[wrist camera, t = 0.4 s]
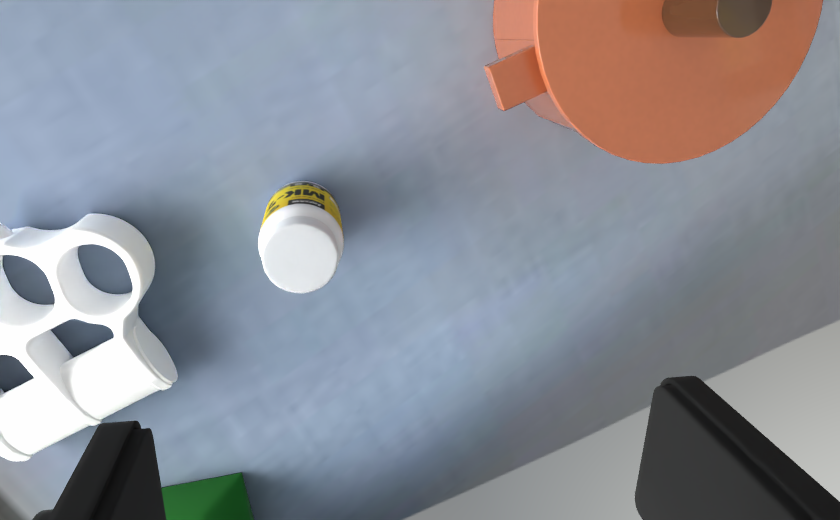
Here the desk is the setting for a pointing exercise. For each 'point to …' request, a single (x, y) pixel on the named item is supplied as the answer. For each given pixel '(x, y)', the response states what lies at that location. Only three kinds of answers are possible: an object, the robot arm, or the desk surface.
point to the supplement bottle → (301, 237)
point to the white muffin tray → (48, 358)
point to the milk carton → (208, 500)
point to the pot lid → (669, 69)
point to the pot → (519, 62)
